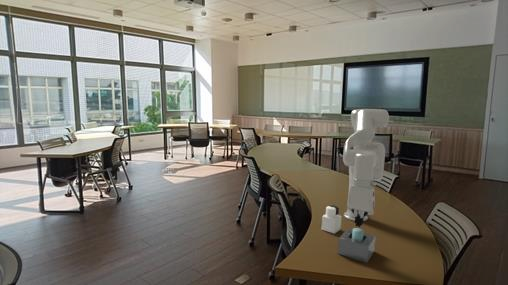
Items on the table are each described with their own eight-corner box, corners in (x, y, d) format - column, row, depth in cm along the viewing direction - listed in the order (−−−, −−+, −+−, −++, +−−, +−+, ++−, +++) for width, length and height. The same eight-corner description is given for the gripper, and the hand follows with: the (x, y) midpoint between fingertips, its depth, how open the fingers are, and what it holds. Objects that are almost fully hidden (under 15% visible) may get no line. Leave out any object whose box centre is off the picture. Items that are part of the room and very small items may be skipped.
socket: (346, 243, 139) (347, 228, 138) (374, 251, 132) (375, 236, 131) (337, 253, 129) (338, 237, 128) (367, 263, 123) (368, 246, 122)
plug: (352, 249, 134) (354, 227, 132) (362, 252, 131) (364, 230, 130) (349, 253, 130) (351, 230, 129) (359, 256, 128) (362, 233, 126)
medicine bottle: (327, 225, 158) (329, 203, 157) (340, 229, 154) (342, 206, 152) (320, 229, 153) (322, 206, 151) (334, 234, 148) (336, 210, 147)
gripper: (383, 184, 126) (379, 227, 128) (347, 178, 134) (343, 218, 136) (379, 188, 119) (375, 233, 122) (341, 181, 128) (338, 223, 130)
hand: (358, 225), depth 129 cm, fingers closed
